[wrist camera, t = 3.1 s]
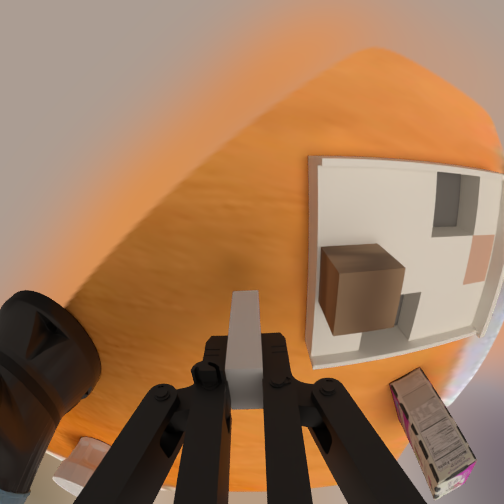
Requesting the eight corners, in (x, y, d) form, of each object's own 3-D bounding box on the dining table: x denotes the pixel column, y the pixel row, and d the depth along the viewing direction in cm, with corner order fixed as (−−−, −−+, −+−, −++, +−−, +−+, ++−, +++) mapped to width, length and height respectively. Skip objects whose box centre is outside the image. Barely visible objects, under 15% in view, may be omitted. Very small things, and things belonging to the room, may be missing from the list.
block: (318, 301, 22) (332, 336, 17) (320, 246, 20) (339, 273, 16) (370, 295, 22) (393, 327, 17) (377, 243, 20) (405, 267, 16)
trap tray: (304, 340, 27) (314, 375, 22) (307, 155, 21) (325, 158, 16) (461, 313, 27) (483, 336, 22) (487, 169, 21) (520, 178, 16)
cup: (59, 428, 35) (39, 472, 25) (101, 430, 34) (82, 483, 23) (100, 463, 39) (88, 504, 29) (145, 466, 38) (135, 514, 27)
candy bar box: (425, 403, 33) (466, 482, 17) (397, 418, 34) (432, 502, 18) (421, 363, 29) (479, 461, 14) (387, 382, 30) (436, 488, 15)
